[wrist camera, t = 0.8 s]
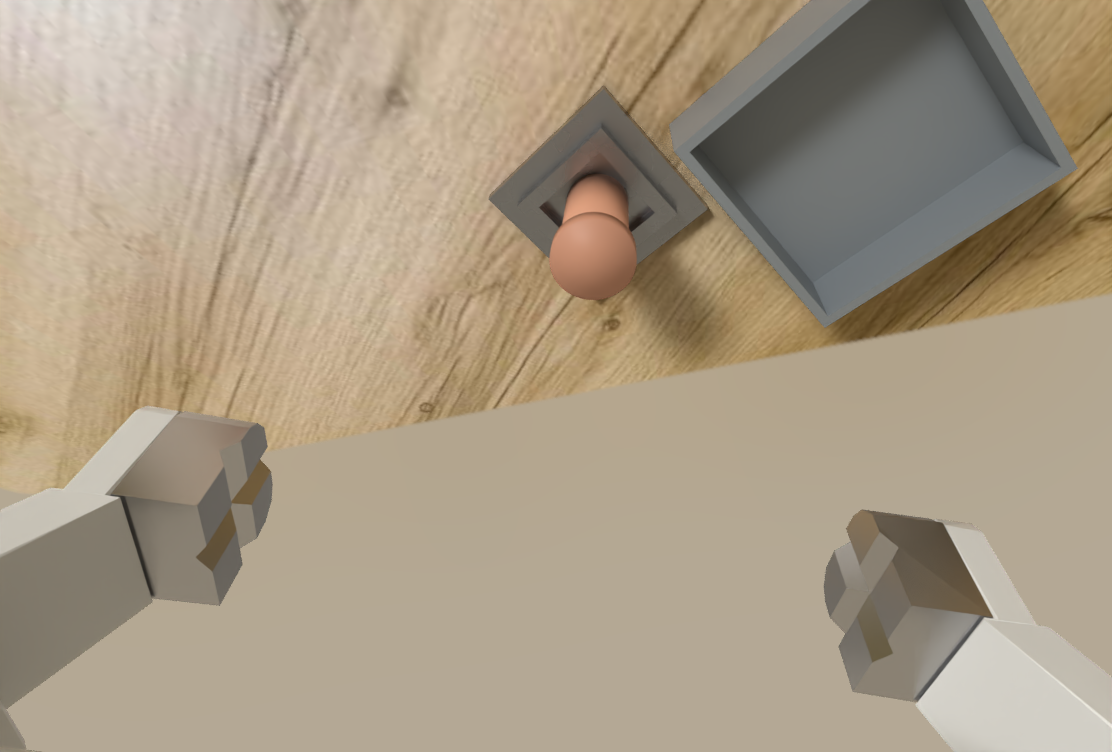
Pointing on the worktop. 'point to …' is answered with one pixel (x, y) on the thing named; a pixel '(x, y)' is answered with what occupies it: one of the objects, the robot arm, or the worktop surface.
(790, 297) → the worktop surface
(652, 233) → the socket plate
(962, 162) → the slate tray
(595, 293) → the butternut squash
